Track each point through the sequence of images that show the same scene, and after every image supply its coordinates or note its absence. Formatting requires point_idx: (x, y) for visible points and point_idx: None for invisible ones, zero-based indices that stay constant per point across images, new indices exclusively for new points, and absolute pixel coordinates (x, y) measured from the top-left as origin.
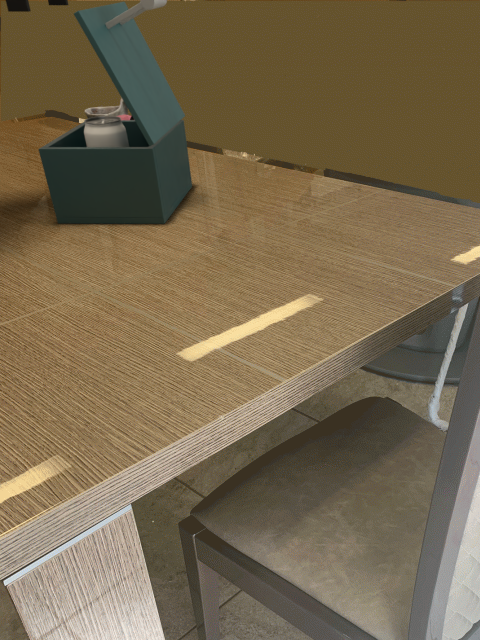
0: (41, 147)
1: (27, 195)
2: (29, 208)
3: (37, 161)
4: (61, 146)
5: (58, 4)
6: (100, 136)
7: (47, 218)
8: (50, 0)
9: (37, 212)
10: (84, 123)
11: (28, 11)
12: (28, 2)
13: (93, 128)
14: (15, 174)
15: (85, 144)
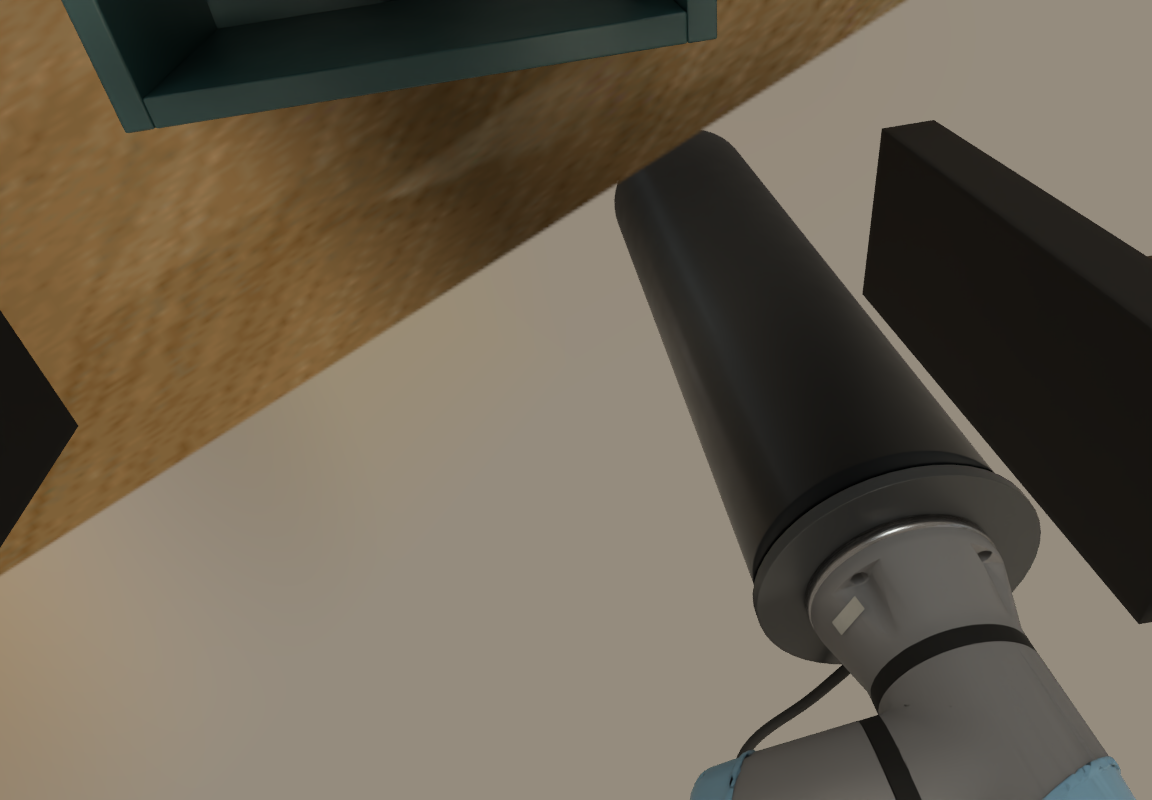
0: (691, 38)
1: (397, 255)
2: (517, 172)
3: None
4: (543, 26)
5: (22, 354)
6: None
7: None
8: (51, 429)
9: (550, 122)
10: (192, 102)
11: (929, 121)
12: (920, 150)
13: None
14: (212, 413)
15: (277, 56)
